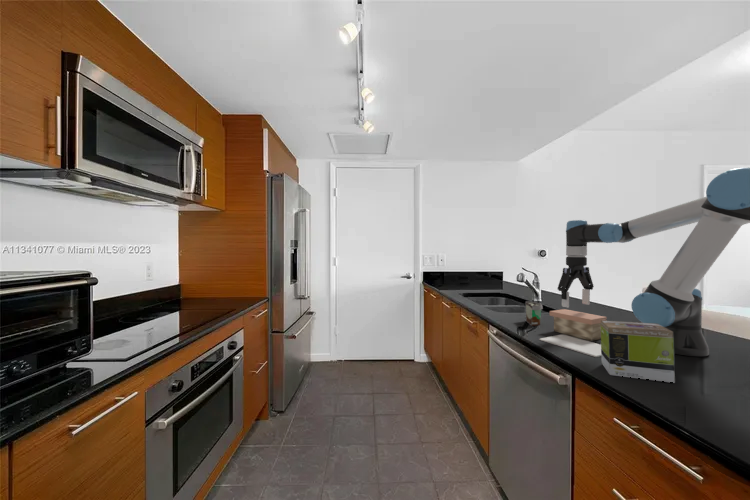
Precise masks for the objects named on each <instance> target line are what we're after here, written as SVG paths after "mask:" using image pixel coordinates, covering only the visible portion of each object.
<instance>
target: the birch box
mask: <svg viewBox="0 0 750 500" xmlns="http://www.w3.org/2000/svg"><path fill="white" fill-rule="evenodd" d="M553 331H554V332H556V333H560V334H563V335H567V336H570V337H574V338H578V339H582V340H585V341H589V342H593V341H598V340H601V323H598V324H592V325H590V324H586V323H581V322H577V321H572V320H567V319H563V318H558V317H554V316H553Z"/></svg>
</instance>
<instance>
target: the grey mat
mask: <svg viewBox="0 0 750 500" xmlns="http://www.w3.org/2000/svg"><path fill="white" fill-rule="evenodd" d="M539 341H542V342H545V343H548V344H551V345H555V346H559V347H561V348H565V349H568V350H570V351H575V352H578V353H580V354H584V355H588V356H591V357H594V358H599V357H600V358H601V343H600V344H599V343H595V342H593V341H589V340H585V339H582V338H578V337H574V336H570V335H566V334H563V333H561V334H557V335H553V336H552V335H551V336H547V337H540V338H539Z"/></svg>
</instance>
